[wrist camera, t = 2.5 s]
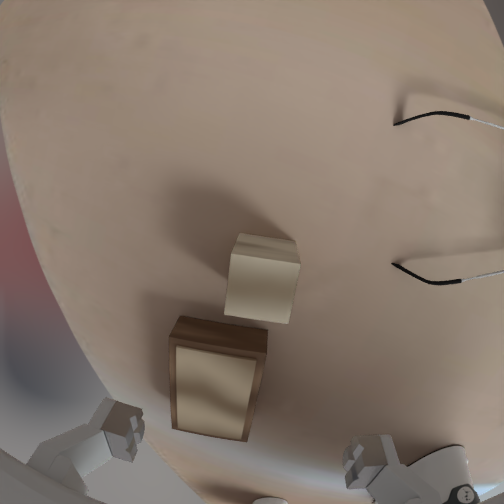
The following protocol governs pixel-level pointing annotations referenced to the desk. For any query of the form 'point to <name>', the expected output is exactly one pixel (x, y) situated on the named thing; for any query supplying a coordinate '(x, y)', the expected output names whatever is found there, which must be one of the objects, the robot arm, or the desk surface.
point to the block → (262, 278)
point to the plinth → (215, 377)
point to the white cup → (270, 501)
